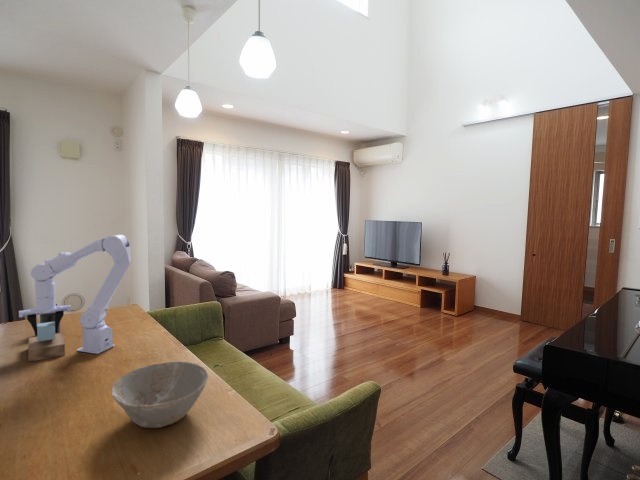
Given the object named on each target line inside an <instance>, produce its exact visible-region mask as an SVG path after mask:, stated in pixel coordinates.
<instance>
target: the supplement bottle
mask: <svg viewBox="0 0 640 480" xmlns="http://www.w3.org/2000/svg"><path fill="white" fill-rule="evenodd" d="M55 305H56V306H58V304H57V303H55ZM48 322H55V313H48V314H40V315H39V324H40V323H48ZM58 333H61V322H60V323H59V326H58V331H57V332H56V333H55V334H58Z"/></svg>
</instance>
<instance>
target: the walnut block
mask: <svg viewBox="0 0 640 480" xmlns="http://www.w3.org/2000/svg"><path fill="white" fill-rule="evenodd" d="M65 355H66V347H65V338H64V333H63V332H59V333H57V334H55V339H51V340H45V341H39V342H38V340H37V336H33V337H32V336H31V337H29V338H28V345H27V356H28V357H27V360H28V362H34V361H39V360H45V359H49V358H56V357H60V356H62V357H63V356H65Z"/></svg>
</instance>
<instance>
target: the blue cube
mask: <svg viewBox="0 0 640 480" xmlns="http://www.w3.org/2000/svg"><path fill="white" fill-rule="evenodd" d="M36 337H37V340H38V342H39V341H45V340H51V339H55V322H48V323H40V322H39V323H37V335H36Z"/></svg>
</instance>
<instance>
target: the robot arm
mask: <svg viewBox="0 0 640 480" xmlns="http://www.w3.org/2000/svg"><path fill="white" fill-rule="evenodd" d="M130 242H131V241H129V239H128V237H127V236H125V235H124V234H122V233H120V234H114V235H109V236H106V237H104V238H101V239H97V240H95V241H92V242H90V243H88V244H87V245H85V246H83V247H81V248H80V249H78V250H76V251H74V252H68V251H65V252H63V251H62V252H59V253H58V254H57V256H55V257H53V258H51V259H45V260H44V263H39V264H36V265H35V266H34V267H32V268H31V271H30V276H31V278H32V279H34V306H35V307H34V308H29V309H24V310H18V318H23V317H26V320H27V321H28V322H29V324H30V325H31V326H30V327H32V329H33V332H34V337H37V324H38V323H37V316H38V315H39V316H40V314H48V313H55V333H56V332H57V331H58V326H59V323H60V324H61V321H62V318H64V315H65V313H64V312H71V305H70V304H67V305H66V304H65V305H57V306H56V305H55V304H56V281H55V280H56V276H57V275H59V274H61V273H63V272H65V271H67V270H70V269H71V268H72V267H73V268H74V267H75V266H76V265H77V262H78V261H79V260H81V259H83V258H85V257H88V256H90V255H92V254H94V253H96V252H103V253H104V252H106V253H107V254H108V255H109V256H111V258H112V260H113V262H114V264H113V266H112V267H111V269H110V271H109V273H108V275H107V276H106V277H105V280H104V282H103V284H102V285H101V287H100V289H99V290H98V293H97V294H96V296H95V298H94V299H93V301H92V303H91V304H90V305H89V306H88V308H87V310H86V311H85V312H83V313H82V314H81V315H80V317H79V323H80V325H81V326H82V346H81V347H79V348H78V349H76V351H77V352H81V353H82V352H84V353H90V354H95V355H96V354H100V353H103V352H105V351H107V350H109V349H111V348H114V347H115V346H116V345H115V344H114V331H113V328H112V327H110V326H108V325H107V324H106V321H105V318H107V315H108V308H109V306H110V302H111V300H112V298H113V297H114V295H115V293H116V292H117V291H116V290H117V289H118V288H119V286H120V283H121V281H122V280H123V278H124V276H125V275H126V273H127V270H128V269H129V267H130V265H131V263H132V254H131V253H132V252H131V243H130Z"/></svg>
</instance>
